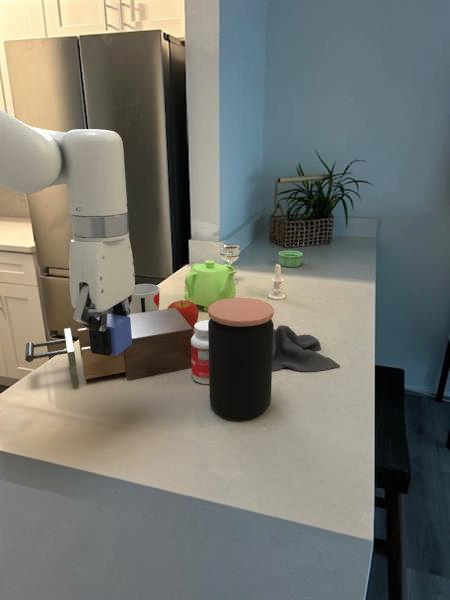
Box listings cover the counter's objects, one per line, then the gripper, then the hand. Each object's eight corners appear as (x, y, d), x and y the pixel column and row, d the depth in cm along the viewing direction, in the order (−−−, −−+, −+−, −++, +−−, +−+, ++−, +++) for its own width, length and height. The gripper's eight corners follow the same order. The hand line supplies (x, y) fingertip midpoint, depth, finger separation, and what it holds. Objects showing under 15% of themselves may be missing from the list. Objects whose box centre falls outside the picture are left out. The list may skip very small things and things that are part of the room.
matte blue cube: (90, 351, 64) (87, 323, 62) (107, 339, 68) (104, 312, 66) (116, 356, 63) (114, 327, 61) (132, 343, 67) (130, 316, 65)
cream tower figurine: (285, 294, 130) (287, 260, 126) (286, 300, 125) (287, 265, 122) (268, 293, 131) (269, 260, 127) (268, 299, 126) (269, 265, 122)
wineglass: (216, 281, 143) (215, 245, 139) (233, 277, 146) (233, 243, 142) (227, 286, 137) (227, 249, 133) (244, 282, 141) (245, 246, 137)
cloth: (226, 366, 88) (226, 339, 86) (246, 331, 105) (247, 307, 103) (339, 381, 82) (342, 352, 80) (341, 341, 99) (343, 316, 97)
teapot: (244, 298, 127) (245, 256, 123) (236, 315, 114) (237, 269, 110) (192, 294, 130) (191, 253, 126) (178, 311, 117) (176, 266, 113)
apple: (165, 337, 101) (163, 306, 99) (169, 324, 109) (167, 295, 106) (197, 337, 101) (197, 306, 98) (200, 324, 108) (199, 295, 106)
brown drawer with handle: (29, 393, 77) (23, 359, 75) (30, 365, 87) (25, 334, 85) (139, 372, 84) (136, 340, 82) (128, 348, 94) (126, 319, 92)
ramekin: (291, 269, 156) (291, 257, 154) (273, 264, 162) (273, 253, 161) (307, 265, 161) (307, 253, 160) (288, 260, 168) (289, 249, 166)
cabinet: (127, 380, 83) (123, 340, 80) (117, 353, 94) (113, 316, 91) (194, 367, 88) (193, 328, 85) (177, 342, 99) (175, 307, 96)
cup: (140, 336, 102) (136, 296, 98) (122, 326, 107) (119, 288, 104) (168, 327, 107) (166, 289, 104) (150, 318, 113) (147, 281, 109)
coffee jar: (277, 394, 78) (281, 301, 72) (259, 428, 69) (262, 325, 63) (223, 383, 82) (222, 294, 76) (199, 414, 72) (196, 315, 66)
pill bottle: (195, 368, 87) (194, 317, 84) (225, 370, 87) (225, 319, 83) (188, 384, 82) (186, 330, 78) (220, 386, 81) (220, 332, 77)
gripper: (111, 215, 68) (119, 322, 74) (34, 235, 53) (53, 367, 59) (153, 218, 66) (159, 328, 72) (86, 240, 50) (101, 377, 57)
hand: (111, 345), depth 65 cm, fingers closed on matte blue cube, 4 cm apart
